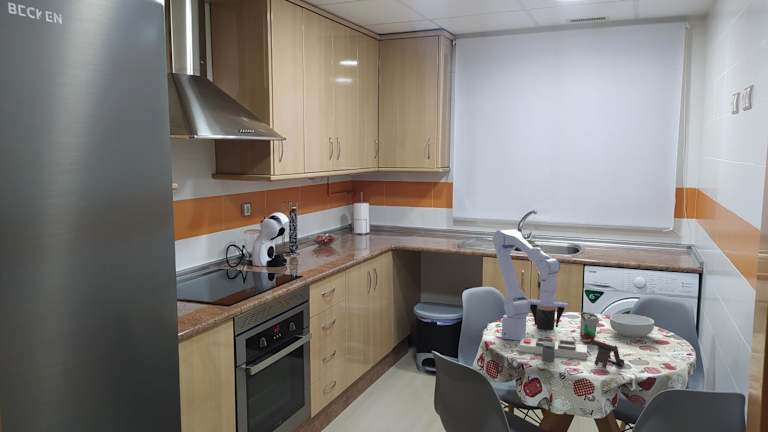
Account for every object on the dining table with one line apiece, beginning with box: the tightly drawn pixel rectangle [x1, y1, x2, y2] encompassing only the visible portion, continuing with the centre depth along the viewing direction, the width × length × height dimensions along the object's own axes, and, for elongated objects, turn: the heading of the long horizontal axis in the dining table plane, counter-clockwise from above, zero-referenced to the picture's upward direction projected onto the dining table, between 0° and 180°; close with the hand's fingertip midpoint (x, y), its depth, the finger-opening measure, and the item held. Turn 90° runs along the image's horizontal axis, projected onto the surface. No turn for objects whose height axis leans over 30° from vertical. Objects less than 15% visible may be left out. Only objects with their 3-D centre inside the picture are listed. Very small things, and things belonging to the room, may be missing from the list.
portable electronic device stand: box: [592, 338, 625, 369], centre depth 211 cm, size 9×8×8 cm
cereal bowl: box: [609, 313, 655, 339], centre depth 245 cm, size 17×17×7 cm
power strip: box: [518, 336, 588, 360], centre depth 224 cm, size 24×9×4 cm, turn 71°
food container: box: [579, 311, 600, 345], centre depth 238 cm, size 12×6×10 cm, turn 169°
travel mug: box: [536, 281, 557, 331], centre depth 253 cm, size 8×8×20 cm
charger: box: [541, 341, 556, 363], centre depth 215 cm, size 4×5×6 cm
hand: (546, 325), depth 226 cm, fingers open, 7 cm apart
